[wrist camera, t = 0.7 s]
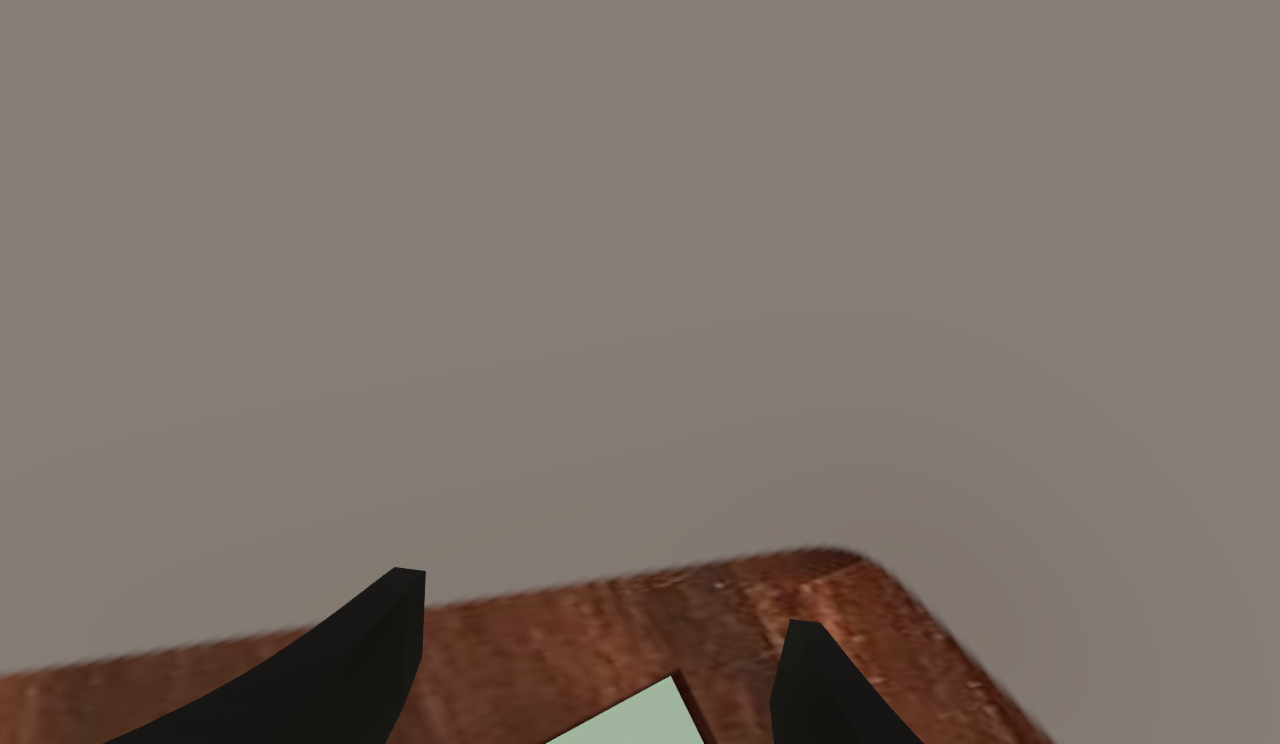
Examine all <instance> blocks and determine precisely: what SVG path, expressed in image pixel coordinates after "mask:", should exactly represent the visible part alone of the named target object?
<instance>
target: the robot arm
mask: <svg viewBox="0 0 1280 744" xmlns="http://www.w3.org/2000/svg"><path fill="white" fill-rule="evenodd" d="M425 576H426V572H425V571H420V570H413V569H405V568H398V567H394V568H393V569H391V570H390V571H389V572H387V573H386V574H385V575H383V576H382V577H381V578H380V579H378V580H377V581H376V582H374V583H373V584H371V585H370V586H369V587H368V588H366V589H365V590H364V591H362V592H361V593H360V594H358V595H357V596H356V597H355V598H353V599H352V600H351V601H349V602H348V603H347V604H345V605H344V606H343V607H341V608H340V609H339V610H337V611H336V612H335V613H333V614H332V615H331V616H329V617H328V618H326V619H325V620H324V621H322V622H321V623H320V624H318V625H317V626H316V627H314V628H313V629H311V630H310V631H309V632H307V633H306V634H304V635H303V636H302V637H300V638H299V639H297V640H296V641H294V642H293V643H291V644H290V645H288V646H287V647H285V648H284V649H282V650H281V651H279V652H278V653H276V654H275V655H273V656H272V657H270V658H269V659H267V660H266V661H264V662H262V663H261V664H259V665H257V666H256V667H254V668H253V669H251V670H249V671H247V672H246V673H244V674H242V675H241V676H239V677H237V678H235V679H234V680H232V681H230V682H228V683H227V684H225V685H223V686H221V687H219V688H218V689H216V690H214V691H212V692H210V693H209V694H207V695H205V696H203V697H201V698H199V699H197V700H195V701H193V702H191V703H189V704H187V705H185V706H183V707H181V708H179V709H177V710H175V711H173V712H171V713H169V714H166V715H164V716H162V717H160V718H158V719H156V720H154V721H152V722H150V723H148V724H146V725H144V726H142V727H140V728H138V729H135V730H133V731H131V732H129V733H126V734H124V735H122V736H119V737H117V738H115V739H112V740H110V741H108V742H105V743H103V744H385V743H386V741H387V739H388V737H389V735H390V733H391V731H392V729H393V727H394V725H395V723H396V721H397V719H398V717H399V715H400V713H401V711H402V709H403V707H404V704H405V701H406V699H407V696H408V694H409V691H410V688H411V686H412V683H413V680H414V678H415V675H416V672H417V669H418V667H419V664H420V661H421V658H422V648H423V624H424V601H425ZM770 710H771V720H772V730H773V738H774V744H924V743H923V742H922V741H921V740H920V739H919V738H918V737H917V736H916V735H915V734H914V733H913V732H912V731H911V729H910V728H909V727H908V726H907V725H906V724H905V723H904V722H903V721H902V720H901V719H900V718H899V716H898V715H897V714H896V713H895V712H894V711H893V710H892V709H891V707H890V706H889V705H888V704H887V703H886V702H885V701H884V699H883V698H882V697H881V696H880V695H879V694H878V692H877V691H876V690H875V689H874V688H873V687H872V685H871V684H870V683H869V682H868V680H867V679H866V678H865V677H864V676H863V674H862V673H861V672H860V671H859V670H858V668H857V667H856V666H855V665H854V663H853V662H852V661H851V660H850V658H849V657H848V656H847V655H846V654H845V652H844V651H843V650H842V649H841V647H840V646H839V645H838V644H837V642H836V641H835V640H834V639H833V637H832V636H831V635H830V634H829V632H828V631H827V630H826V629H825V628H824V626H823V625H822V624H821V623H816V622H808V621H801V620H793V619H790V622H789V626H788V630H787V634H786V638H785V642H784V646H783V650H782V654H781V658H780V662H779V666H778V670H777V674H776V678H775V682H774V686H773V690H772V694H771V698H770Z"/></svg>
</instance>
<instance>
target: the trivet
mask: <svg viewBox="0 0 1280 744" xmlns="http://www.w3.org/2000/svg"><path fill="white" fill-rule="evenodd" d="M546 744H704V743H703V741H702V739H701V737H700V735H699V733H698V731H697V729H696V727H695V724H694V722H693V720H692V718H691V716H690V714H689V712H688V710H687V708H686V706H685V704H684V702H683V700H682V698H681V696H680V694H679V692H678V690H677V688H676V686H675V684H674V682H673V680H672V678H671V676H669V677H668V678H666V679H664V680H662V681H660V682H658V683H657V684H655V685H653V686H651V687H649V688H647V689H645V690H644V691H642V692H640V693H638V694H636V695H634V696H633V697H631V698H629V699H627V700H625V701H623V702H622V703H620V704H618V705H616V706H614V707H612V708H611V709H609V710H607V711H605V712H603V713H601V714H599V715H598V716H596V717H594V718H592V719H590V720H588V721H587V722H585V723H583V724H581V725H579V726H577V727H576V728H574V729H572V730H570V731H568V732H566V733H565V734H563V735H561V736H559V737H557V738H555V739H553V740H552V741H550V742H548V743H546Z"/></svg>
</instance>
